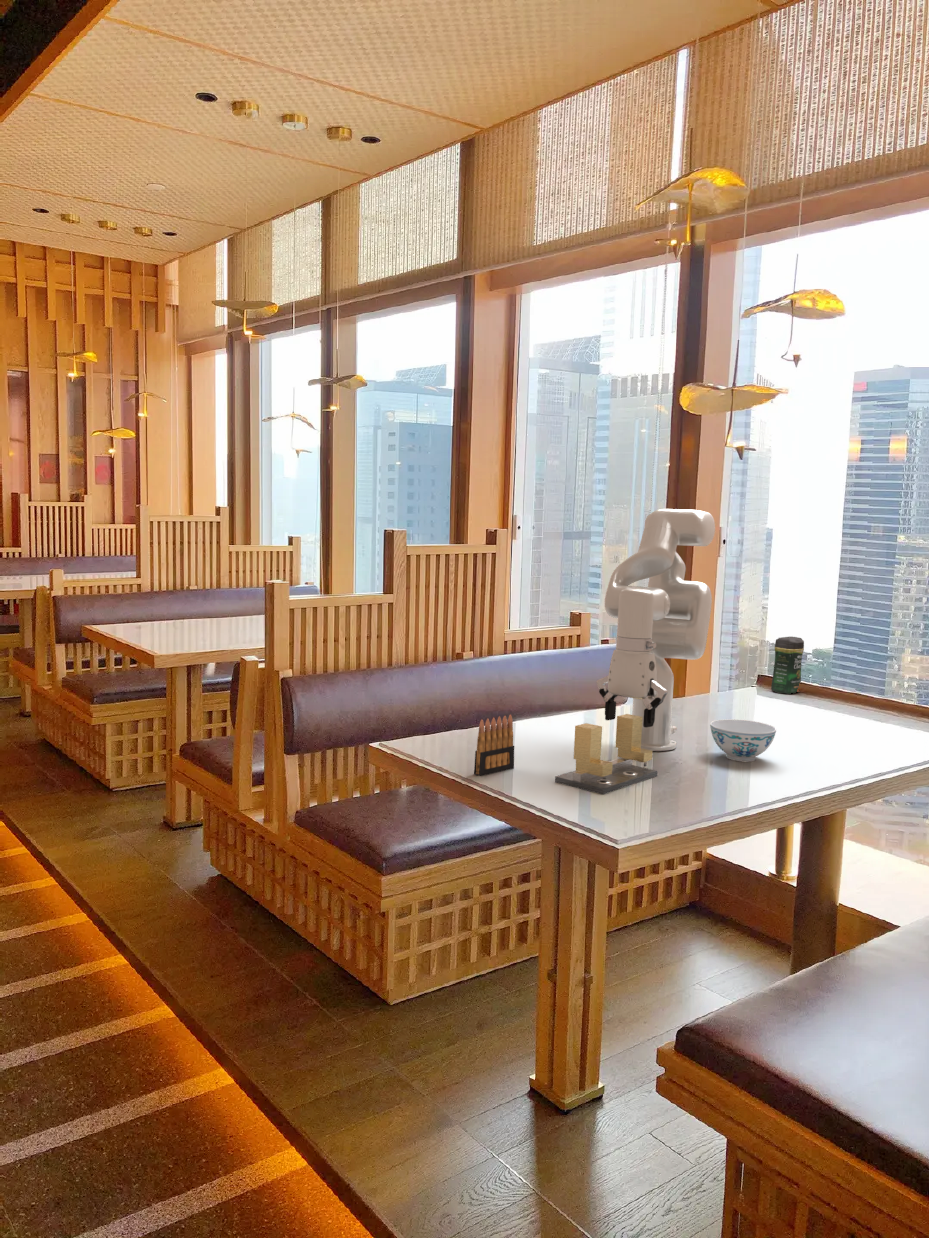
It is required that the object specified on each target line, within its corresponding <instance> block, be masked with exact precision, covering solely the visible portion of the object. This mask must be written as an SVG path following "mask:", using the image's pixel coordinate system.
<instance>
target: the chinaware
mask: <svg viewBox="0 0 929 1238" xmlns="http://www.w3.org/2000/svg"><path fill="white" fill-rule="evenodd" d="M709 726H710V732H711V733H710V734H711V735H712V738H713V741H714V742H715V744H716V745H717V747H718V748H719V749H720V750H721V751H722V752H724V753H725V757H726V758H727V759H730V760H731V761H735V760H737V761H736V762H744V761H746V763H747V762H754V761H756V759H757V756H759V755H760V756H761V754H763V753H764V752H765V751H767V750H768V748H769V747H770V746H771V744H772V742H773V741H774V739H775V736H776V732H777V728H776V727H775V726H773V725H771V724H767V723H764V722H760V721H753V720H748V719H747V720H745V719H731V718H730V719H729V718H728V719H727V718H726V719H717V720H713V721H710V724H709Z"/></svg>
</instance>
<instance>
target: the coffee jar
mask: <svg viewBox="0 0 929 1238" xmlns="http://www.w3.org/2000/svg"><path fill="white" fill-rule="evenodd" d="M804 650H805V641H804V640H803V638H801V637H797V636H783V637H778V638H777V639H775V643H774V663H773V670H772V671H773V673H772V678H771V686H770V688H771V691H773V692H775V693H777V694H788V695H789V694H790V695H792V694H791V693H793V694H797V693H796V692H797V689H798V687H799V683H800V682H801V683H802V661H803V660H802V659H803V654H804V652H805V651H804Z"/></svg>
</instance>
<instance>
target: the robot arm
mask: <svg viewBox="0 0 929 1238" xmlns="http://www.w3.org/2000/svg"><path fill="white" fill-rule="evenodd" d="M715 533H716V522H715V518H714V517H713V515H712V513H710V512H708V511H703V510H699V509H698V510H697V509H679V508H678V509H677V508H675V509H673V508H661V509H660V508H659V509H657V510H653V511H652V512H651V513H650V514H648V515H647V516H646V517H645V521H644V529H643V531H642V536H641V539H640V543H639V546H638V551H637V552H635V553H634V554H632V555H631V556H629V557H628V558H626V559H625V560H623V561H622V562H621V563H620V564H619V565H617V566H616V568H615V569H614V570H613V572H612V573H611V576H610V578H609V582H608V584H607V588H606V590H605V591H606V592H605V596H604V597H605V598H604V609H605V613H606V614H607V615H608V616H609V617H611V618H614V619H617V627H616V628H617V629H616V643H615V644H616V645H615V649H614V650H613V652H612V655H611V659H610V665H609V670H608V675H606V676H604V677H602V678H599V679H597V680H596V685H597V688H598V693H599V694H600V696H601V697H602V700H603V702H604V716H605V717H604V720H605V721H612V720H615V719H616V717H617V716H616V713H617V700H616V699H617V697H618V696H619V697H623V698H624V697H625V698H630V699H632V710H631V711H632V712H631V715H636V716H641V717H643V719H642V736H641V748H642V749H647V750H651V751H653V752H664V751H665V752H667V751H672V750H674V749H676V748H677V742H676V741H675V740H674V739H671V736H672V735H674V734H676V733H677V732H678V728H677V726H676V725H672V715H673V713H672V712H673V701H674V700H673V697H674V681H675V678H674V673H673V671H672V668H671V667H670V665H669V664H668V662H667V661H666V660H665V659H680V660H693V661H694V660H698V659H700V658H702V657H703V656H704V653H705V650H706V649H707V641H708V634H709V628H710V627H709V626H710V620H711V613H712V603H713V601H712V600H713V597H712V591H711V588H710V586H709V585H707V584H706V583H704V582H701V581H693V580H685V575H686V567H687V566H686V564H685V561H684V560H683V559H682V557H681V556H680V555H679V553H678V552H677V547H678V546H691V547H707V546H709V545H710V544H711V543H712V542H713V540H714V537H715ZM645 579H648V582H647V583H648V584H647V586H638V585H637V586H636V585H632V584H634V583H636V582H640V581H642V580H645ZM606 684H607V686H606Z"/></svg>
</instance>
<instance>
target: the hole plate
mask: <svg viewBox="0 0 929 1238" xmlns="http://www.w3.org/2000/svg"><path fill="white" fill-rule="evenodd" d="M602 732H603V726H601V725H597V724H591V723H587V722H586V723H585V722H584V723H581V724H577V725H574V742H573V760H575V770H572V771H569V772H566V773H563V774H559V775H557V776H554V782H555V783H556V784H562V785H564V786H570V787H573V788H576V789H581V790H585V791H590V792H592V793H597V794H600V795H606V794H609V793H612V792H614V791H617V790H620V789H623V788H626V787H629V786H632V785H635V784H637V783H641V782H643V781H646V780H649V779H652V778H655V777H657V776H658V770H657V769H652V768H647V767H645V766H640V765H634V764H633V763H634V762H633V761H634V760H630V759H626V758H621V757H618V758H616V759H612V760H611V759H609V760H604V759H603V760H602V759H601V757H602V756H601V755H602V754H601V753H602V739H603V738H602V736H603V733H602Z"/></svg>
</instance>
